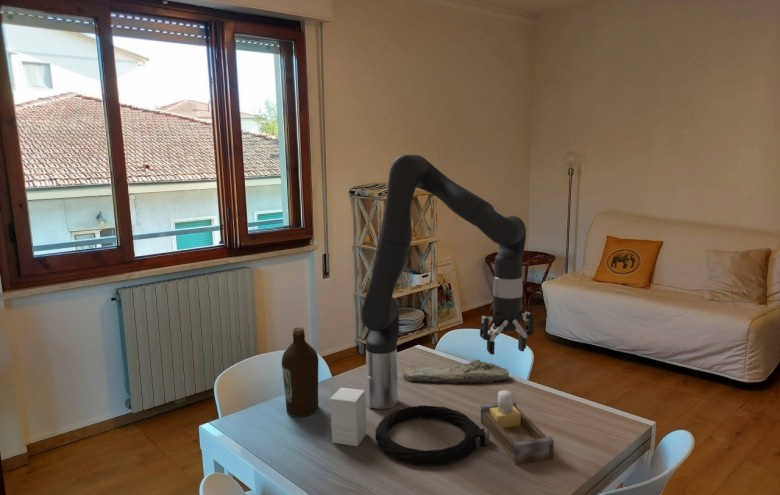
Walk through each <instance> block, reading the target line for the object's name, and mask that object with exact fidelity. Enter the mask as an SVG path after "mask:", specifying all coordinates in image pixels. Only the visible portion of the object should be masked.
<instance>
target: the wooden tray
mask: <svg viewBox="0 0 780 495" xmlns="http://www.w3.org/2000/svg"><path fill="white" fill-rule="evenodd" d="M513 406H514V407H515V408H516V409H517V410H518V411H519V412H520V413H521V425H519V426H512V427H505V428H502V427H501V426H500V425H499V424H498V422H497V421H496V420H495V419H494V418H493V417H492V416H491V414H490V408H495V407H498V402H495V403H486V404H481V405H480V422H481V424H482V426H483V427H484V429H486V431H487V430H488V432H489V435H491V436H492V437H493V439H494V440H495V441H496V442H497V444H498V445H499V447H501V448H502V450H503V451H504V452H505V453H506V455H507V456H508V457H509V459H510V460H511V461H512V462H513V463H514V465H520V464H521V465H522V464H528V463H534V462H541V461H546V460H553V459H554V445H555V444H554V442H555V440H554V439H553V437H551V436H548V437H547V436H546V434H545V433H543V432H542V431H541V429H539V428H538V427H537V426H536V424H534V423H533V421H531V419H530V418H529V417H527V415H525V414H524V413H523V412H522V410H520V409H519V407H517V402H516V401H515V400H513Z"/></svg>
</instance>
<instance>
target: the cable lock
mask: <svg viewBox="0 0 780 495" xmlns="http://www.w3.org/2000/svg"><path fill="white" fill-rule="evenodd" d="M418 419H436V420H437V419H438V420H442V421H445V422H448V423H449V422H451V423H452V424H454V425H455V426H458V427H459V428H461V429H462V430H463V431H464V434H465V435H464V436H465V437H464V438H463V439H462V440H461V441H460V442H459V443H457V444H455V445H453V446H448V447H446V448H441V449H430V450H423V449H416V448H411V447H406V446H403V445H401V444H399V443H397V442H396V441H394V440H393V439H392V438H391V437H390V431H391V430H392V429H393V428H394V427H396V426H397V425H399V424H401V423H404V422H406V421H410V420H418ZM374 431H375V432H374V433H375V435H374V438H375V441H376V444H377V446H378V447H379V448H380V449H381V450H382V451H383V452H384V454H386V455H388V456H391V457H392V458H393V460H394V459H395V460H397V461H399V462H402V463H403V462H404V463H407V464H411V465H414V466H418V465H419V466H421V465H422V466H440V465H445V464H449V463H453V462H456V461H461V460H463V459H464V458H465V457H467V456H468V455H470V454H472V453H473V451H476V450H477V449H478V448H480V447H482V448H483V447H485V445H486V446H488V445H489V443H490V433H489V431H488V430H487V429H486V430H485V427H483V428H481V427H480V426H479V425H478V424H476V423H475V421H473V420H472V419H471V418H469V416H467V415H466V414H465V413H463V412H460V411H459V410H455V409H452V408H449V407H446V406H434V405H417V406H406V407H404V408H401V409H397V410H394V411H393V412H391V413H388V414H387V415H385V416H384V417H383V418H382V419H381V420H380V421H379V423H378V425H377V427H376V428H375V430H374Z"/></svg>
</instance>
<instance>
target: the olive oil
mask: <svg viewBox="0 0 780 495" xmlns="http://www.w3.org/2000/svg"><path fill="white" fill-rule="evenodd" d="M292 332H293V333H292V342H291V344H290V345H289V346H288V347H287V348H286V350H285V351H284V353H283V354H282V358H281V369H282V378H283V379H282V380H283V388H284V389H283V390H284V397H285V398H284V399H285V407H286V410H285V411H286V413H287V414H288V415H290V416H293V417H301V418H302V417H308V416H311V415H314V414H315V413H317V411H318V410H319V355H318V354H317V351H316V349H315V348H314V347H313V346H312V345H310V344H309V343H308V342H307V341H306V336H305V334H306V333H305V328H304V327H295V328H293V329H292Z"/></svg>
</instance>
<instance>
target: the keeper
mask: <svg viewBox="0 0 780 495" xmlns="http://www.w3.org/2000/svg"><path fill="white" fill-rule="evenodd" d="M513 401H514V393H513V392H512V391H511V390H505V389H504V390H499V391H498V392H497V403H498V407H495V408H490V414H491V416H492V417H493V418H494V419H495V420H496V421H497V422H498V424H499V425H500V426H501V427H502V428H505V427H512V426H519V425H521V413H520V412H519V411H518V410H517V409H516V408H515V407H514V406H513Z"/></svg>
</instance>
